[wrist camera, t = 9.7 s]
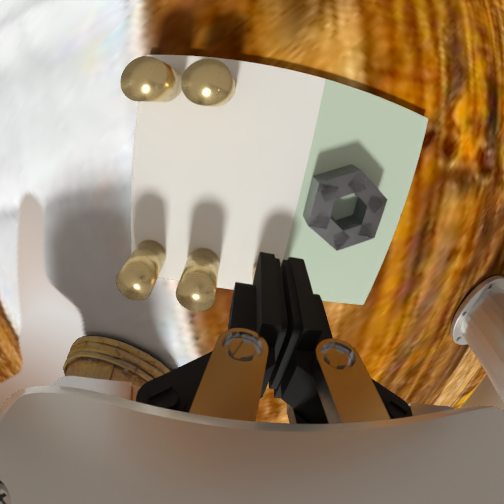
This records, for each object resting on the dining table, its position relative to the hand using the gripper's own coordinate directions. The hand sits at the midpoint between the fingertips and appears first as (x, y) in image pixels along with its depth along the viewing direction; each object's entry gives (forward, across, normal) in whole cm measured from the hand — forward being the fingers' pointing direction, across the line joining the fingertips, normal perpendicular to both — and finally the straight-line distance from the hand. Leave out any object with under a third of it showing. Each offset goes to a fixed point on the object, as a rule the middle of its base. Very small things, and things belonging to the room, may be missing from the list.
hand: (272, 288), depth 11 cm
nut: (+13, -6, 0) cm, 15 cm away
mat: (+14, -1, 0) cm, 14 cm away
